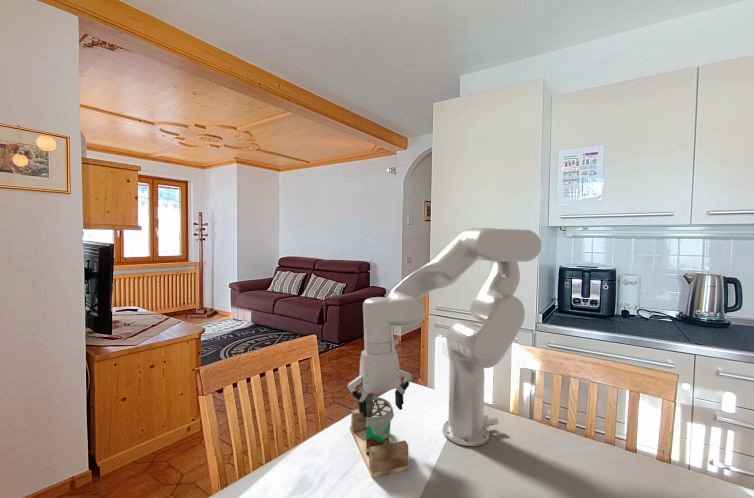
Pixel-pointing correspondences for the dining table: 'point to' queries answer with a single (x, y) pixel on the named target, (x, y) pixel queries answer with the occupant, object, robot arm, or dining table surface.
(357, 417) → the block
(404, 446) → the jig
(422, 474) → the dining table surface
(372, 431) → the food container
